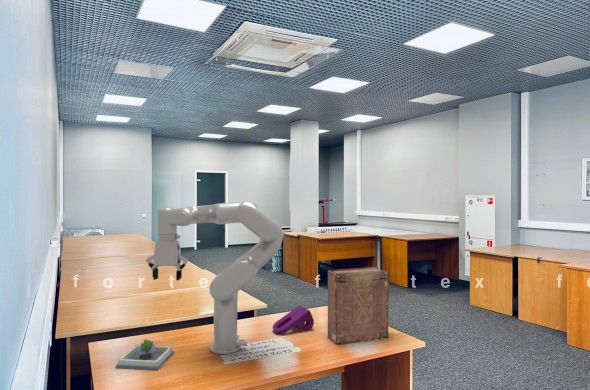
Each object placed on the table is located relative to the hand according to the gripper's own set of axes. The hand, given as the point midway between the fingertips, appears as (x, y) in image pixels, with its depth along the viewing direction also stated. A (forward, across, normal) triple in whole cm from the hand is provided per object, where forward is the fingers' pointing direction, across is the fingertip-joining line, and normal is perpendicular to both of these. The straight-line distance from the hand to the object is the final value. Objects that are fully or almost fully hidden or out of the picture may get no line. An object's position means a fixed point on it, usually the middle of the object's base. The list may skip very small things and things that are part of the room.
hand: (167, 279), depth 166 cm
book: (+29, -79, -20) cm, 86 cm away
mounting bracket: (+29, -49, -26) cm, 63 cm away
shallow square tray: (+28, +3, +12) cm, 31 cm away
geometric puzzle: (+28, +3, +12) cm, 30 cm away
